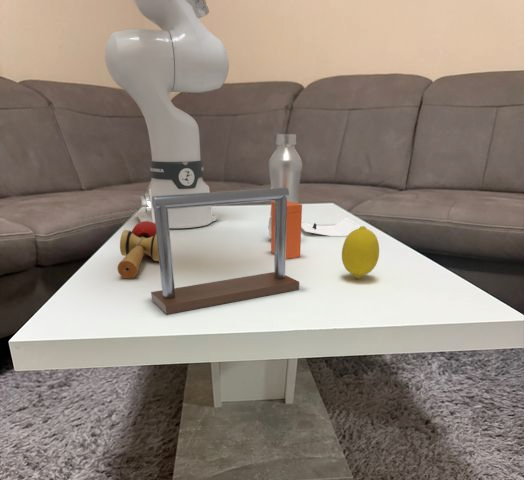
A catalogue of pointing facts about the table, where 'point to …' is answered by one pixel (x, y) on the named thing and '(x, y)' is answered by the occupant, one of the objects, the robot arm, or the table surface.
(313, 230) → the folded paper
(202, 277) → the table surface
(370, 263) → the lemon
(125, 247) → the kendama
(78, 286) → the table surface
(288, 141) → the silver metal bottle
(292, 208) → the orange u-shaped hook
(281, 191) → the rail
